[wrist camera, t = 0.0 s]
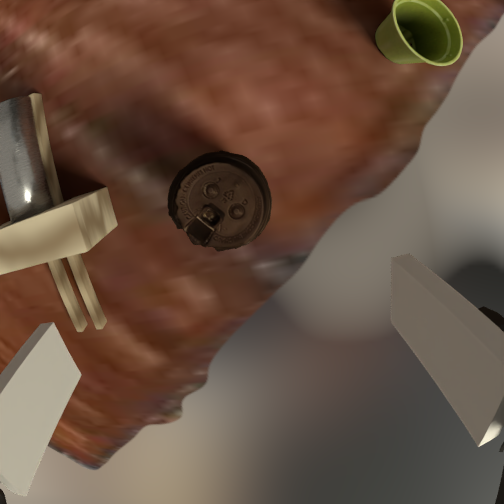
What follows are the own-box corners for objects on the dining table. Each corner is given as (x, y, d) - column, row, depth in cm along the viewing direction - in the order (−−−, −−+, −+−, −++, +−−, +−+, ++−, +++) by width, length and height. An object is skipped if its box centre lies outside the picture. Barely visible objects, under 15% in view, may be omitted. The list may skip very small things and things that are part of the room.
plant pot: (360, 4, 30) (388, -21, 21) (422, 21, 30) (458, 4, 22) (363, 68, 33) (396, 54, 25) (426, 81, 33) (466, 74, 25)
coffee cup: (194, 224, 38) (176, 266, 26) (179, 156, 36) (151, 166, 23) (266, 210, 38) (281, 246, 26) (253, 141, 35) (264, 143, 23)
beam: (-14, 125, 31) (-58, 130, 22) (83, 74, 31) (45, 61, 22) (50, 329, 43) (23, 365, 34) (148, 314, 42) (130, 357, 33)
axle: (7, 115, 30) (-21, 116, 24) (39, 97, 30) (12, 95, 24) (40, 249, 36) (16, 266, 31) (73, 239, 36) (51, 256, 31)
